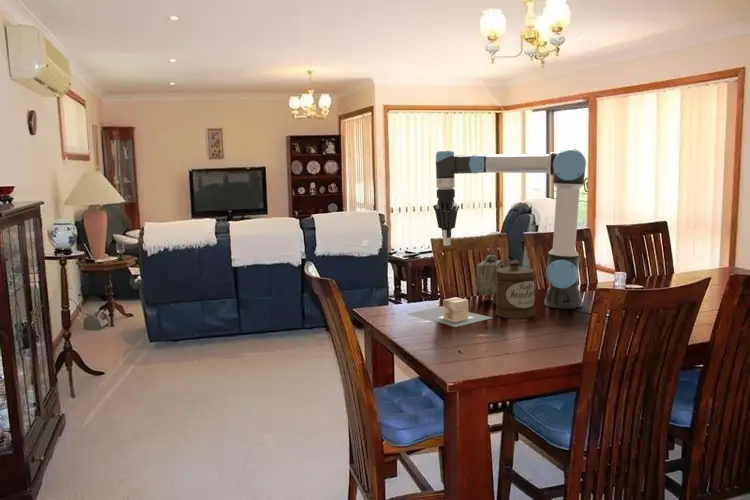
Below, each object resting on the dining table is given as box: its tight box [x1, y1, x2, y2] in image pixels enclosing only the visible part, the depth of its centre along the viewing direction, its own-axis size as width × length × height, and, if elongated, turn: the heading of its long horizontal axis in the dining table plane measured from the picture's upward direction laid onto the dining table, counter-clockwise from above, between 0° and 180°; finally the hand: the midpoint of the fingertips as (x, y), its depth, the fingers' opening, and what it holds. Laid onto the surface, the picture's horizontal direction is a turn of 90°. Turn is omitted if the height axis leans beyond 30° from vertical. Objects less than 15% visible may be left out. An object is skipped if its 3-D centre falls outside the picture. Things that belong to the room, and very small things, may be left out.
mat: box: [407, 305, 493, 328], centre depth 261 cm, size 29×20×1 cm
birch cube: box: [442, 296, 470, 320], centre depth 257 cm, size 7×7×7 cm
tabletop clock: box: [476, 243, 506, 304], centre depth 285 cm, size 14×9×25 cm, turn 154°
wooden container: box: [495, 259, 535, 320], centre depth 259 cm, size 15×15×22 cm
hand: (446, 245), depth 273 cm, fingers closed
